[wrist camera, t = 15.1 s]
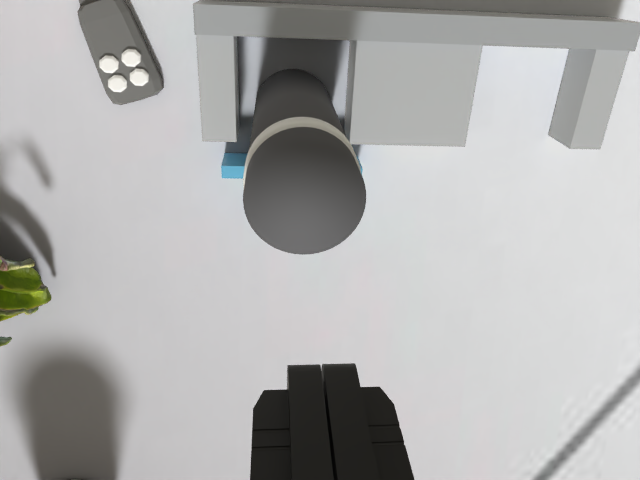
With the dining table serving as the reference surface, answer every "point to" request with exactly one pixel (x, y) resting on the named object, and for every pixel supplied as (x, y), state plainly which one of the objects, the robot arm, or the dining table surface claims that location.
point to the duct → (413, 67)
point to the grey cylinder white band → (300, 168)
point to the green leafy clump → (20, 290)
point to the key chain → (119, 51)
